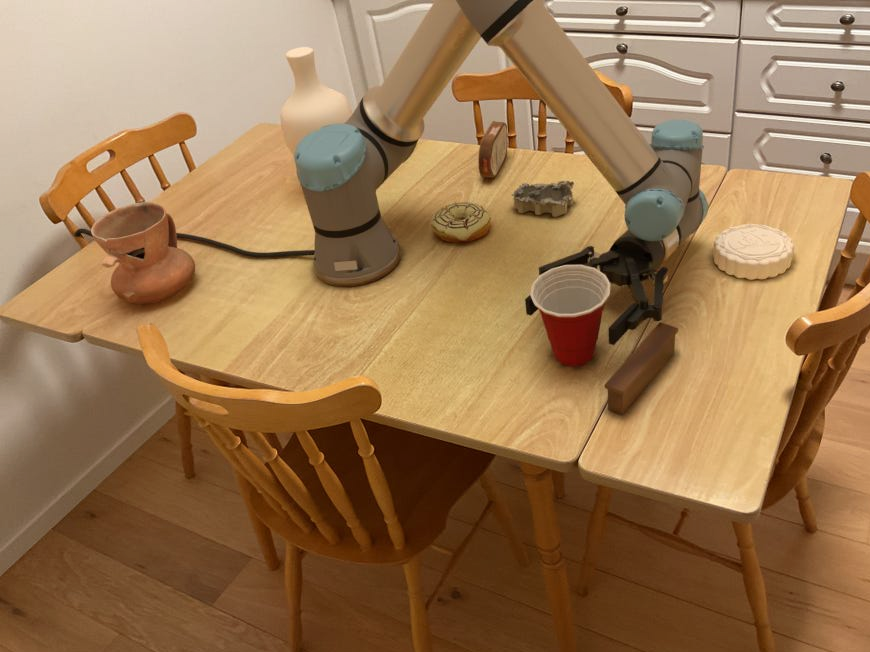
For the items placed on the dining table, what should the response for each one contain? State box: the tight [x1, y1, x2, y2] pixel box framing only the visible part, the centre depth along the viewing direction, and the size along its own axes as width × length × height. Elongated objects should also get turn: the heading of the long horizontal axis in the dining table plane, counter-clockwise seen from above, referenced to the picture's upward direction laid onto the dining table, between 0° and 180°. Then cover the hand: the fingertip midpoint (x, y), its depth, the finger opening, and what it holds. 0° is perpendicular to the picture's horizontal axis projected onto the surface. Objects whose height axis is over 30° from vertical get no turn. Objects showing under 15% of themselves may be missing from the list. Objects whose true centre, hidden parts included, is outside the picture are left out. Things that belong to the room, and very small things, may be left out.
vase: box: [279, 46, 353, 158], centre depth 154 cm, size 14×14×28 cm
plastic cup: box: [529, 265, 612, 367], centre depth 107 cm, size 11×11×12 cm
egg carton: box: [511, 180, 575, 218], centre depth 144 cm, size 11×8×4 cm
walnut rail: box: [604, 321, 679, 416], centre depth 104 cm, size 3×15×4 cm, turn 142°
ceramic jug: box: [90, 201, 196, 305], centre depth 135 cm, size 18×14×14 cm
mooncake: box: [712, 223, 795, 281], centre depth 123 cm, size 12×12×4 cm
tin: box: [478, 120, 509, 179], centre depth 157 cm, size 15×3×8 cm, turn 164°
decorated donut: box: [430, 201, 492, 243], centre depth 141 cm, size 10×11×4 cm
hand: (567, 321), depth 107 cm, fingers open, 13 cm apart
